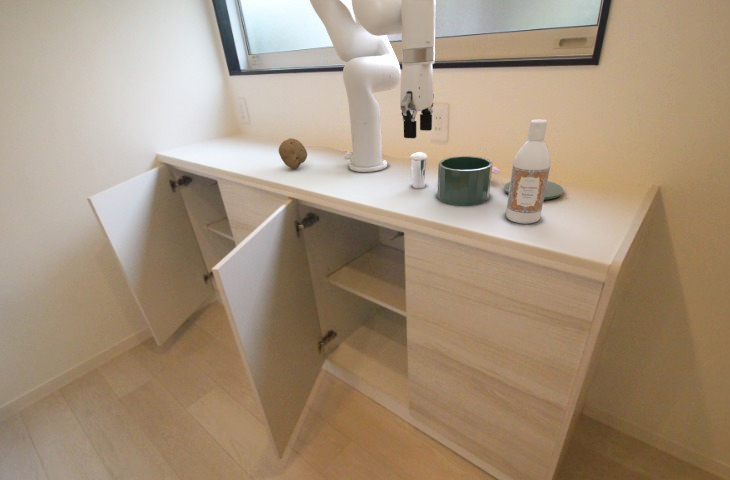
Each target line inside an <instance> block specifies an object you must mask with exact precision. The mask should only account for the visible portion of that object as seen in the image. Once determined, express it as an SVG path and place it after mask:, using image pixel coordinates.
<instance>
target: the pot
mask: <svg viewBox="0 0 730 480" xmlns="http://www.w3.org/2000/svg"><path fill="white" fill-rule="evenodd" d="M492 167H493V161H492V160H490V159H488V158H486V157H482V156H481V157H480V156H475V155H473V156H472V155H459V156H451V157H446V158H444V159H441V160H440V161H438V165H437V169H438V172H437V194H436V195H437V199H438V200H439V201H440V202H441V203H445V204H448V205H451V206H459V207H460V206H463V207H464V206H465V207H466V206H467V207H468V206H469V207H470V206H476V205H481V204H483V203H485V202H487V201H488V199H489V197H490V190H491V184H492V183H491V181H492V174H493V172H492Z"/></svg>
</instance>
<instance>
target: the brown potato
mask: <svg viewBox="0 0 730 480" xmlns="http://www.w3.org/2000/svg"><path fill="white" fill-rule="evenodd" d="M307 151H308V150H307V149H306V147H305V146H304V145H303V143H302V141H300V140H298V139H296V138H290V137H289V138H287V139H285V140H283V141H282V142H281V144H280V145H279V147H278V154H279V157H280V159H281V161H282V162H283V163H284V165H285V166H286V167H288V169H290V170H293V171H294V170H297V169H298V168H299V167H300V166H301V165H302V164H303V163H305V161H307V158H308V152H307Z"/></svg>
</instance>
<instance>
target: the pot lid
mask: <svg viewBox="0 0 730 480" xmlns="http://www.w3.org/2000/svg"><path fill="white" fill-rule="evenodd" d="M510 182H511V181H509V182H507V183H505V185H504V187H503V188H504V192H505V193H507V194H508V195H509V189H510ZM563 194H564V188H563V187H562V185H560V184H558V183H556V182H552V181H548V180H547V185H546V190H545V196H544V200H552V199H556V198H559V197H561V196H562V195H563Z"/></svg>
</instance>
